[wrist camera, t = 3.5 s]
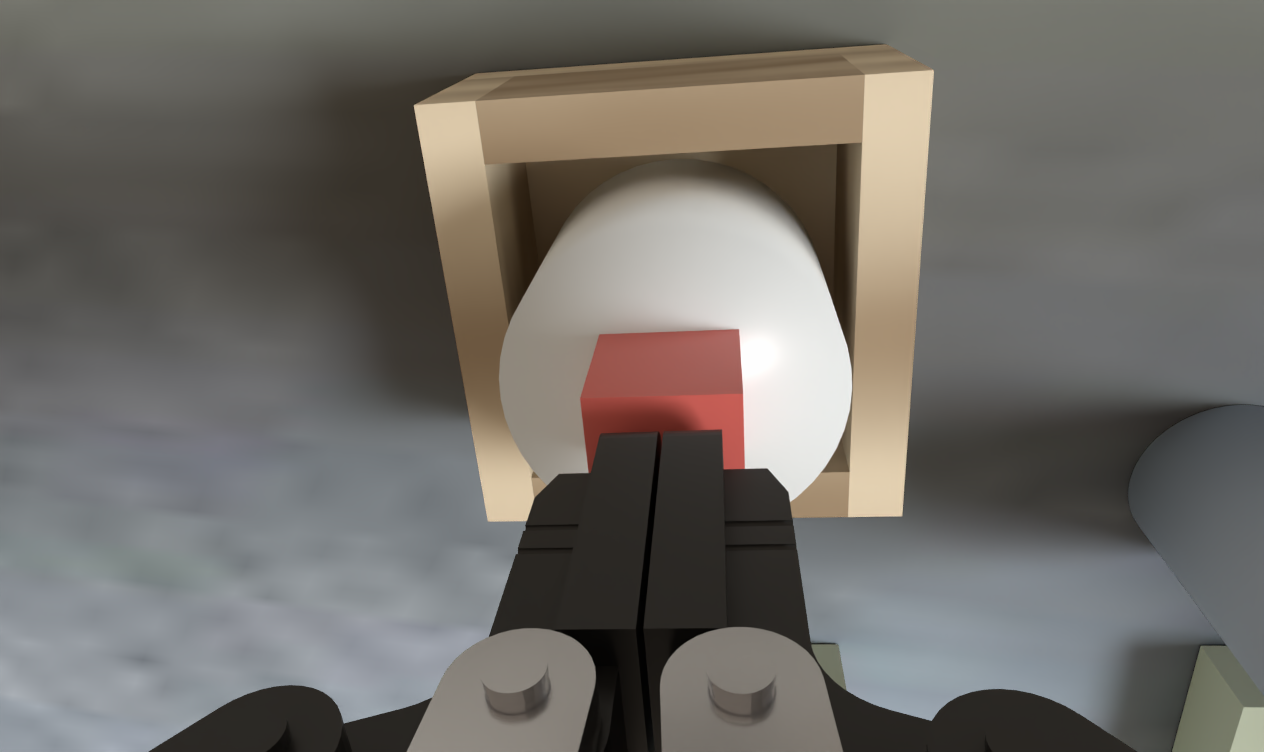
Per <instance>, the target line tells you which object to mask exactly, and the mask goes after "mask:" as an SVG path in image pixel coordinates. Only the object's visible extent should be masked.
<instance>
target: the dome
mask: <svg viewBox="0 0 1264 752" xmlns="http://www.w3.org/2000/svg"><path fill="white" fill-rule="evenodd" d="M499 386H500V397H501V403H502V407H503V411H504V416H505V419H506V422H507V425H508V427H509V430H510V432H511V435H512V438H513V439H514V441H515V443H516V445H517V447H518V449H519V451H520V452H521V454H522V456H523V457H524V459H525V460H526V461H527V463H528V464H529V466H530V467H531V468H532V470H533V471H534V472H535V473H536V474H537V476H538V477H539V478H540V479H541V480H542V481H543V482H544V483H545V484H546V485H548V484H549V483H550V482H551V481H552V480H553V479H554V478H555V477H556V476H557V475H558V474H567V473H591V470H592V466H593V461H594V457H595V453H596V448H597V444H598V440H599V436H600V434H601V433H622V432H655V431H659V433H660V437H661V444H662V439H663V432H664V431H681V430H715V429H722V438H723V462H724V469H756V468H768V470H769V471H770V472H771V473H772V474H773V475H774V476H775V477H776V478H777V480H778V481H779V482H780V483H781V484H782V485H783V486H784V487H785V489H786V490H787V491H788V492H789V499H790V502H791V501H792V500H794V499H795V498H796V497H798V496H799V495H800V494H801V493H802V492H803V491H804V490H805V489H806V488H807V487H808V486H809V485H810V484H812V483H813V481H814V480H815V479H816V478H817V476H818V475H819V474H820V473H821V472H822V470H823V469H824V468H825V467H826V465H827V463H828V462H829V460H830V458H831V457H832V455H833V454H834V452H835V450H836V449H837V446H838V444H839V442H840V439H841V437H842V434H843V432H844V430H845V426H846V422H847V419H848V415H849V411H850V404H851V395H852V370H851V363H850V358H849V352H848V347H847V344H846V341H845V338H844V335H843V332H842V329H841V326H840V323H839V320H838V317H837V314H836V311H835V308H834V305H833V302H832V299H831V296H830V293H829V290H828V287H827V284H826V281H825V278H824V275H823V272H822V269H821V266H820V263H819V260H818V257H817V254H816V251H815V249H814V246H813V243H812V240H811V238H810V236H809V234H808V232H807V230H806V229H805V227H804V225H803V223H802V222H801V220H800V219H799V218H798V216H797V215H796V213H795V212H794V211H793V209H792V208H791V207H790V206H789V205H788V204H787V203H786V202H785V201H784V200H783V199H782V198H781V197H780V196H779V195H778V194H777V193H776V192H774V191H773V190H772V189H771V188H769V187H768V186H767V185H766V184H764V183H762V182H761V181H759V180H757V179H756V178H754V177H752V176H751V175H749V174H747V173H744V172H742V171H740V170H737V169H735V168H733V167H730V166H726V165H722V164H719V163H715V162H710V161H703V160H696V159H670V160H662V161H655V162H651V163H647V164H643V165H639V166H636V167H634V168H631V169H629V170H626V171H624V172H621V173H619V174H617V175H616V176H614V177H612V178H610V179H609V180H607V181H605V182H603V183H602V184H601V185H599V186H598V187H597V188H596V189H594V190H593V191H592V192H590V193H589V194H588V195H587V196H586V197H585V198H584V199H583V200H582V201H581V202H580V203H579V204H578V205H577V206H576V207H575V209H574V210H573V211H572V213H571V214H570V215H569V217H568V218H567V220H566V221H565V223H564V224H563V226H562V228H561V230H560V232H559V233H558V235H557V237H556V239H555V241H554V242H553V244H552V246H551V248H550V250H549V251H548V253H547V255H546V257H545V259H544V260H543V262H542V264H541V266H540V268H539V269H538V271H537V273H536V275H535V277H534V278H533V280H532V282H531V284H530V286H529V287H528V289H527V291H526V293H525V295H524V296H523V298H522V300H521V302H520V304H519V305H518V307H517V309H516V311H515V313H514V315H513V317H512V318H511V321H510V324H509V327H508V329H507V332H506V335H505V337H504V342H503V347H502V352H501V356H500V369H499Z"/></svg>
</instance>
